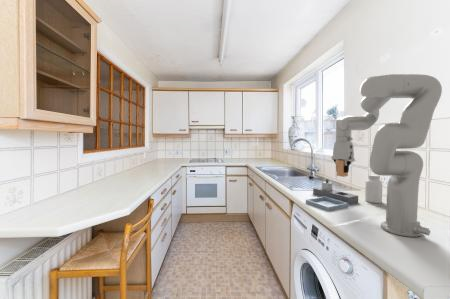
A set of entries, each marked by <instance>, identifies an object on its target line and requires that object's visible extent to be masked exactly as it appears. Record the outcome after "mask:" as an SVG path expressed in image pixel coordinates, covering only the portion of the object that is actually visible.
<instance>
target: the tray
mask: <svg viewBox="0 0 450 299" xmlns="http://www.w3.org/2000/svg"><path fill="white" fill-rule="evenodd" d="M305 204H307V205H310V206H313V207H316V208H319V209H321V210H324V211H327V212H330V211H335V210H338V209H344V208H348V207H349V204H348V203H346V202H342V201H339V200H335V199H332V198H329V197H325V196H324V197H322V196H320V197H319V196H318V197H313V198H307V199H305Z"/></svg>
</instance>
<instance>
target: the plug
mask: <svg viewBox="0 0 450 299" xmlns="http://www.w3.org/2000/svg"><path fill="white" fill-rule="evenodd" d="M344 165H345V162H344V160H337V171H336V176H337V177H342V178H344V177H349V172H347V173H344Z"/></svg>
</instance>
